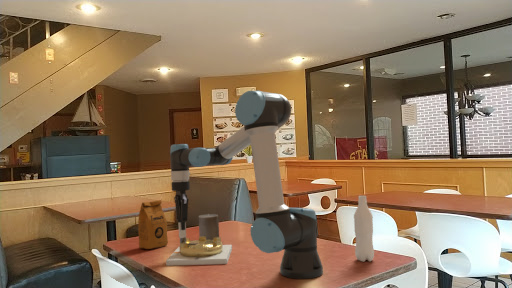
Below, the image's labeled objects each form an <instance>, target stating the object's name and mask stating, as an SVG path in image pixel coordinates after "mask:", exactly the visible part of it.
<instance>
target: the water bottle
mask: <svg viewBox="0 0 512 288" xmlns="http://www.w3.org/2000/svg"><path fill="white" fill-rule="evenodd" d="M357 198H358V201H357V204H358V205H357V208H356V209H355V211H354V214H353V219H354V220H353V222H354V223H353V224H354V235H355V248H354V249H355V250H354V254H355V257H356V260H358V261H360V262H366V260H367V261H368V262H371V261H373V259H374V257H375V248H374V244H373V241H374V240H373V234H374V227H373V225H374V223H373V218H374V217H373V213H372V212H371V210H370V208H369V206H368V199H367V195H358V197H357Z"/></svg>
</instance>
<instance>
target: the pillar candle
mask: <svg viewBox="0 0 512 288" xmlns="http://www.w3.org/2000/svg"><path fill="white" fill-rule="evenodd" d="M219 225H220V220H219V214H216V213H211V214H210V212H208V213H207V214H201V215H198V235H199V236H206V240H214V237H220V226H219ZM199 236H198V237H199Z"/></svg>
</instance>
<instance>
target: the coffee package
mask: <svg viewBox="0 0 512 288" xmlns="http://www.w3.org/2000/svg"><path fill="white" fill-rule="evenodd" d="M161 204H162V199H159V200H154V201H145V202H142V203H141V206H140V209H139V213H138V219H137V221H138V224H137V225H138V248H139V249H145V250H153V249H158V248H162V247H165V246H167V245H168V241H169V240H168V223H167V218H166V215H165V212H164V211H163V208H162V207H163V206H162V205H161Z"/></svg>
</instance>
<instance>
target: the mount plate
mask: <svg viewBox="0 0 512 288" xmlns="http://www.w3.org/2000/svg"><path fill="white" fill-rule="evenodd" d="M222 249H223V250H222V252H220V253H218V254H215V255H211V256H203V257H188V256H183V255H181V254H180V247H179V246H178V247H177V248H176V249H175V250H174V251H173V252H172V254H171V255H169V257H168V258H167V259H166V260H165V264H166V265H165V266H167V267H168V266H192V265H193V266H195V265H197V266H199V265H204V266H205V265H227V264H228V262H229V260H230V256H231V253H232V250H233V244H222Z"/></svg>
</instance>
